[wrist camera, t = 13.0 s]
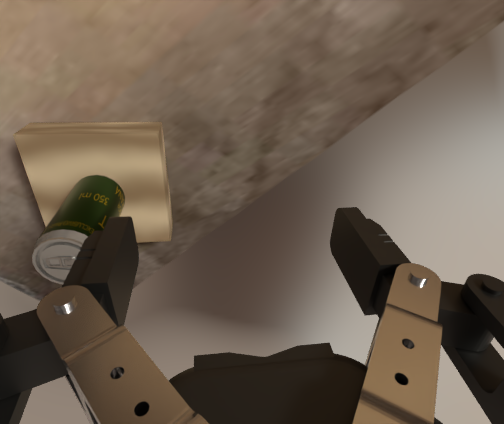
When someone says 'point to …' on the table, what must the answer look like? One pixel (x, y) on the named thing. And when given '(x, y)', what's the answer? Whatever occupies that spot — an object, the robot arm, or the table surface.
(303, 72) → the table surface
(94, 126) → the oak pedestal
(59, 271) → the beer can
